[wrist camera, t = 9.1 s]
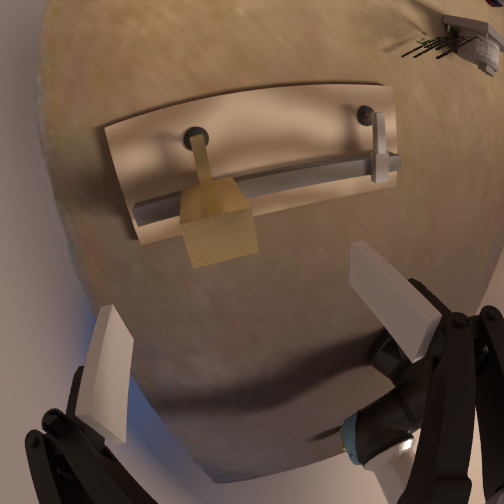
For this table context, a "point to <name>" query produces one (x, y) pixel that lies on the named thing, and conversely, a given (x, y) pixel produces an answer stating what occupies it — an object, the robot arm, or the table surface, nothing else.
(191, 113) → the gauge board
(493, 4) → the grey tall bottle shape
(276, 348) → the table surface
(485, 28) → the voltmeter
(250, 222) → the brass sliding point
